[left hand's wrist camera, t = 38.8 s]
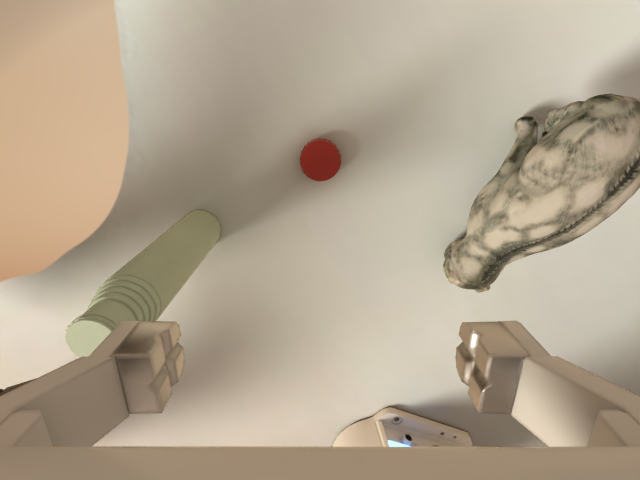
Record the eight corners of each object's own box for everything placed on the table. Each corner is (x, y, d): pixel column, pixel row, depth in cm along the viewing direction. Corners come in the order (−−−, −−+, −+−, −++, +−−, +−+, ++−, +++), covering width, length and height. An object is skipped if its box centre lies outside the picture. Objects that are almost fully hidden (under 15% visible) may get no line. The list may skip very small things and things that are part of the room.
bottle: (227, 223, 45) (141, 333, 23) (210, 253, 46) (113, 382, 25) (192, 202, 44) (68, 296, 22) (175, 233, 45) (43, 351, 24)
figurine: (458, 111, 43) (402, 266, 44) (639, 63, 26) (544, 321, 27) (511, 143, 47) (459, 286, 47) (701, 120, 30) (616, 345, 30)
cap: (325, 129, 41) (325, 131, 39) (347, 163, 42) (348, 166, 40) (292, 153, 42) (291, 155, 40) (315, 185, 43) (315, 189, 41)
